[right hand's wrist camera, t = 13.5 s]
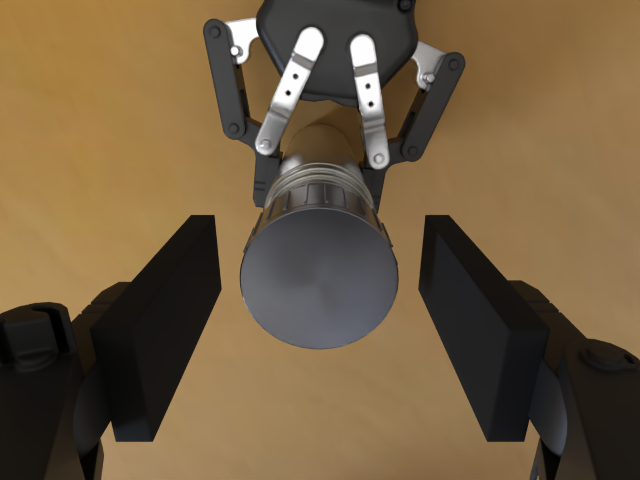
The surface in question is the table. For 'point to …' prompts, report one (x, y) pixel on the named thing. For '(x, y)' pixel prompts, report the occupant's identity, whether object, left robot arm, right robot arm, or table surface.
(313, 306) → the cap
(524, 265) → the table surface
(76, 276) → the table surface
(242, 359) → the table surface
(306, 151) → the bottle
